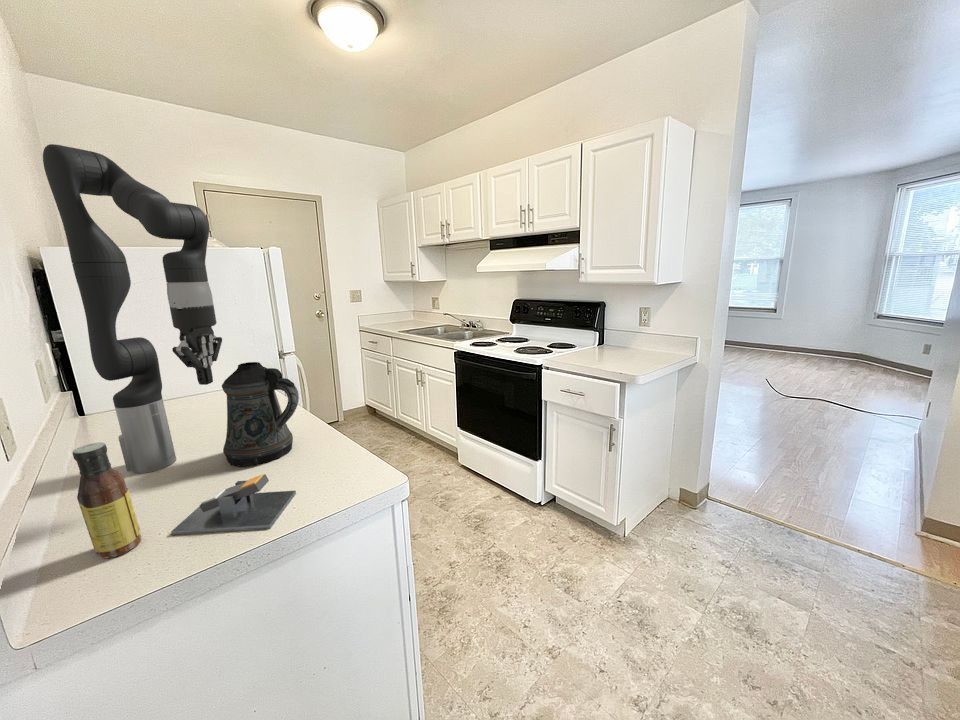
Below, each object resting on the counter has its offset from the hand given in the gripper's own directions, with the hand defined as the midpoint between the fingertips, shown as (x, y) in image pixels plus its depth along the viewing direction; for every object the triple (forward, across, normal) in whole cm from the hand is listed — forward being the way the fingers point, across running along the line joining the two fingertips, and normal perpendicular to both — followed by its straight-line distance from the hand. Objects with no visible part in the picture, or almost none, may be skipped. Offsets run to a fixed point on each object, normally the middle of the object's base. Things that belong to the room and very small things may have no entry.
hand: (206, 383), depth 86 cm
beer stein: (+25, -16, +2) cm, 30 cm away
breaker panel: (+24, +13, +10) cm, 29 cm away
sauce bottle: (+24, +22, -5) cm, 33 cm away
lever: (+19, +13, +10) cm, 25 cm away
